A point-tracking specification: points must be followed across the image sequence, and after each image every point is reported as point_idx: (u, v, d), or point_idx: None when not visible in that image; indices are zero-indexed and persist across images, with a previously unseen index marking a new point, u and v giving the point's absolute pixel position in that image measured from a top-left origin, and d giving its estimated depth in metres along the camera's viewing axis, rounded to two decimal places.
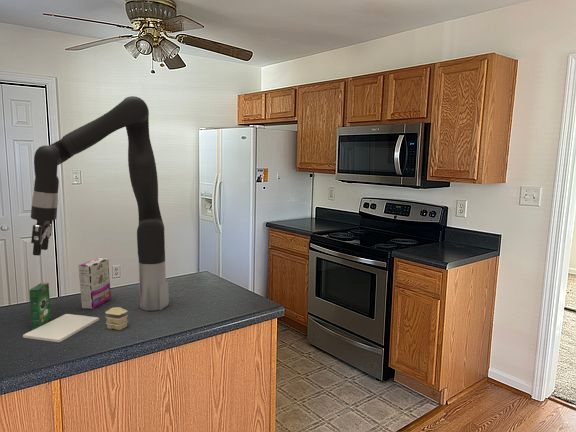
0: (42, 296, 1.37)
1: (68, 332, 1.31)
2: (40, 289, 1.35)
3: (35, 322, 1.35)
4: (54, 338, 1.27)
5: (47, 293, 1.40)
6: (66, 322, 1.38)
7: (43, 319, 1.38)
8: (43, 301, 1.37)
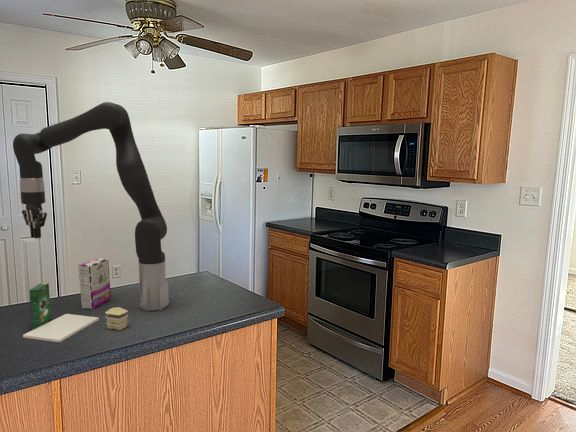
0: (42, 296, 1.37)
1: (68, 332, 1.31)
2: (40, 289, 1.35)
3: (35, 322, 1.35)
4: (54, 338, 1.27)
5: (47, 293, 1.40)
6: (66, 322, 1.38)
7: (43, 319, 1.38)
8: (43, 301, 1.37)
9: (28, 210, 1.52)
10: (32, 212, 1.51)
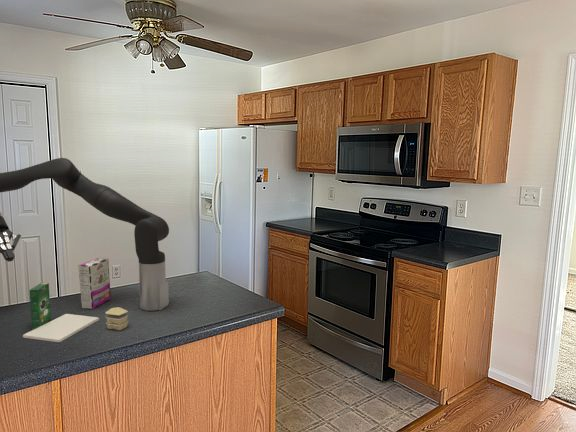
0: (42, 296, 1.37)
1: (68, 332, 1.31)
2: (40, 289, 1.35)
3: (35, 322, 1.35)
4: (54, 338, 1.27)
5: (47, 293, 1.40)
6: (66, 322, 1.38)
7: (43, 319, 1.38)
8: (43, 301, 1.37)
9: None
10: None
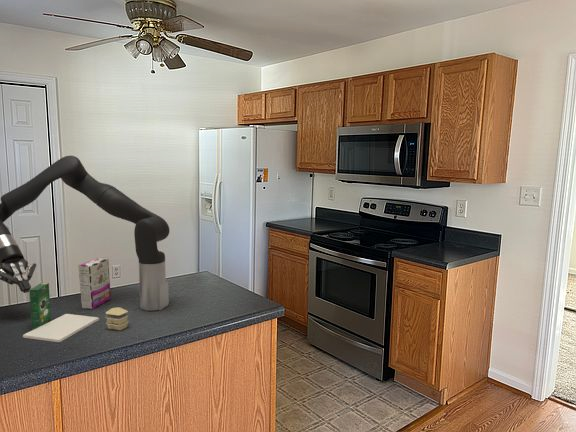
0: (42, 296, 1.37)
1: (68, 332, 1.31)
2: (40, 289, 1.35)
3: (35, 322, 1.35)
4: (54, 338, 1.27)
5: (47, 293, 1.40)
6: (66, 322, 1.38)
7: (43, 319, 1.38)
8: (43, 301, 1.37)
9: (13, 264, 1.43)
10: None
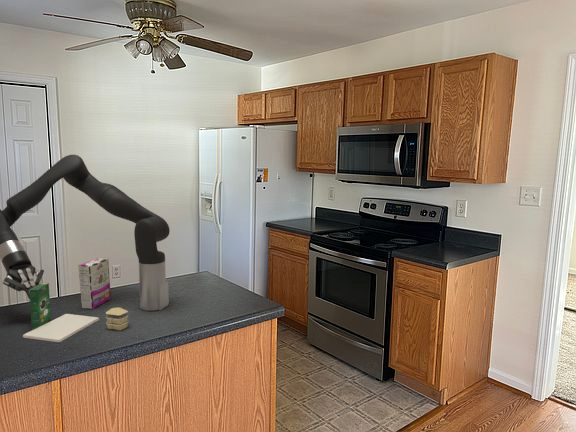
0: (42, 296, 1.37)
1: (68, 332, 1.31)
2: (40, 289, 1.35)
3: (35, 322, 1.35)
4: (54, 338, 1.27)
5: (47, 293, 1.40)
6: (66, 322, 1.38)
7: (43, 319, 1.38)
8: (43, 301, 1.37)
9: None
10: None
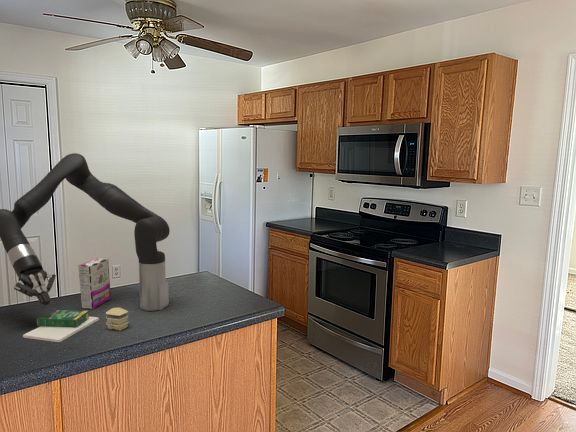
0: None
1: (68, 332, 1.31)
2: None
3: (43, 322, 1.35)
4: (54, 338, 1.27)
5: None
6: None
7: None
8: None
9: (32, 275, 1.37)
10: None
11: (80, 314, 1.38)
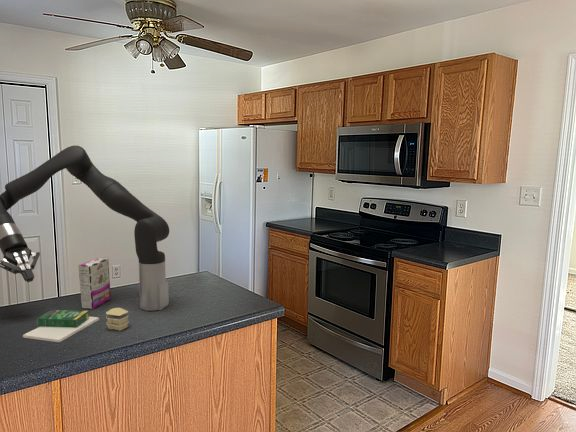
0: None
1: (68, 332, 1.31)
2: None
3: (43, 322, 1.35)
4: (54, 338, 1.27)
5: None
6: None
7: None
8: None
9: (17, 253, 1.42)
10: None
11: (80, 314, 1.38)
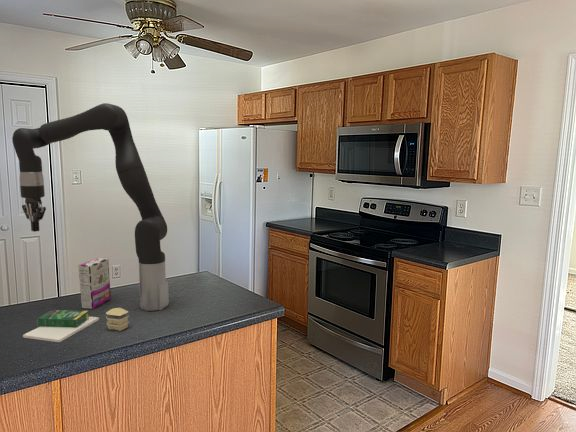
0: None
1: (68, 332, 1.31)
2: None
3: (43, 322, 1.35)
4: (54, 338, 1.27)
5: None
6: None
7: None
8: None
9: (27, 203, 1.54)
10: (31, 206, 1.53)
11: (80, 314, 1.38)
